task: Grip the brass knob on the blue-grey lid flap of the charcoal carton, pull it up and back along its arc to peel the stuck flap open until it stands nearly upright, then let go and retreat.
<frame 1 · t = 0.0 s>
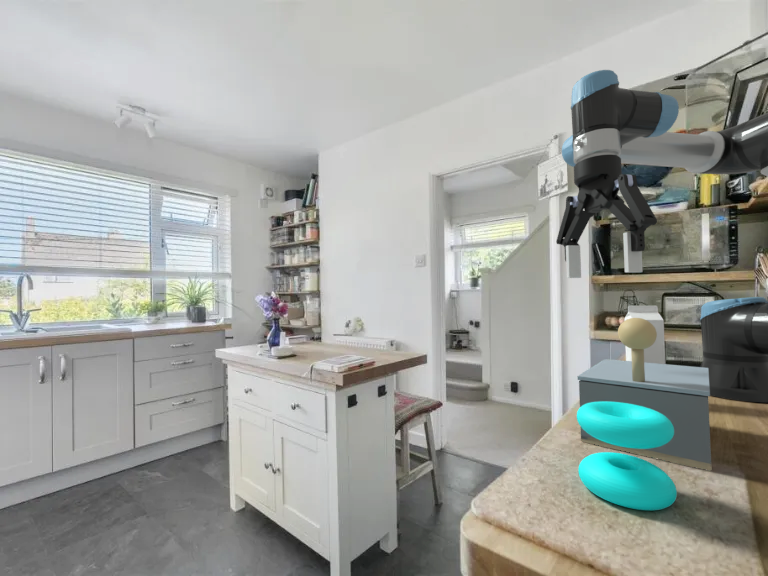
hand: (600, 275, 65), 28 cm above the countertop, fingers open, 13 cm apart
donuts: (624, 493, 44), on the countertop
flap: (644, 345, 62), point 15 cm above the countertop, hinge at 0.0°
carton: (648, 434, 62), on the countertop
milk: (646, 401, 82), on the countertop
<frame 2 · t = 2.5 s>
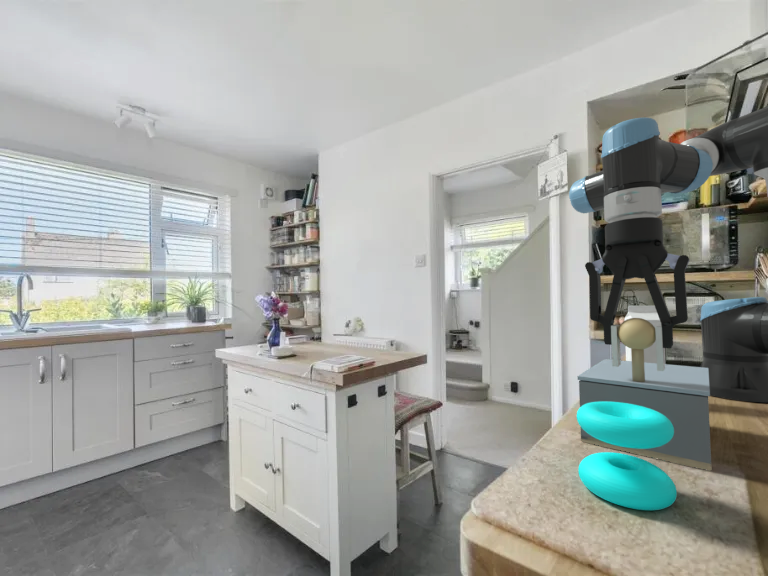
hand: (638, 367, 56), 13 cm above the countertop, fingers closed on flap, 5 cm apart
flap: (644, 345, 62), point 15 cm above the countertop, hinge at 0.0°, touching gripper
everything else where it was.
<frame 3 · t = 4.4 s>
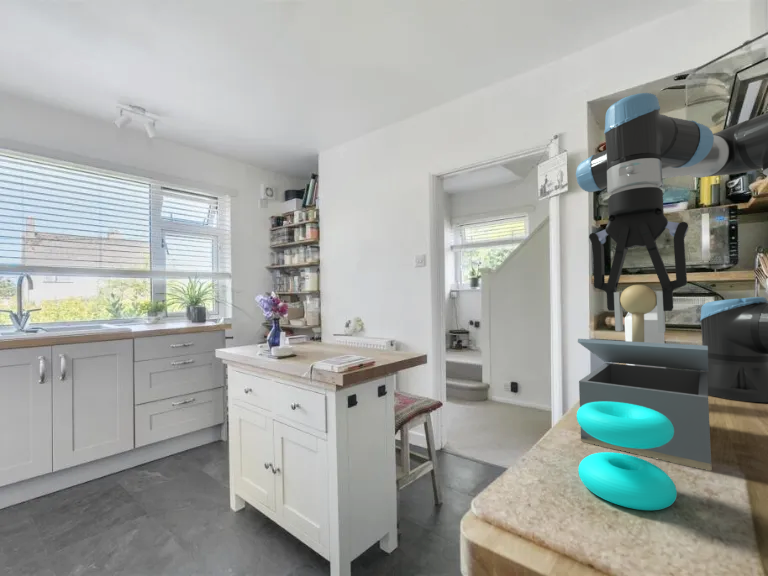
hand: (639, 330, 58), 18 cm above the countertop, fingers closed on flap, 5 cm apart
flap: (645, 327, 64), point 18 cm above the countertop, hinge at 16.5°, touching gripper
everything else where it was.
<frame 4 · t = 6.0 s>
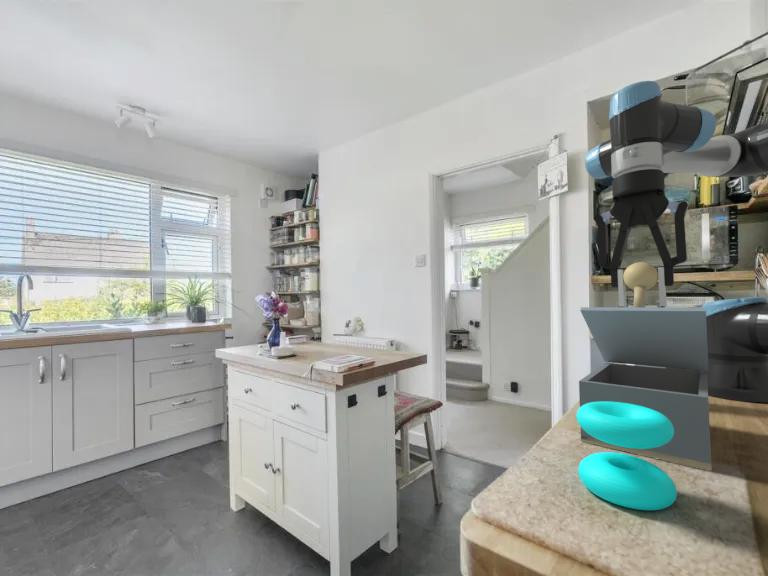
hand: (642, 305, 62), 22 cm above the countertop, fingers closed on flap, 5 cm apart
flap: (646, 315, 66), point 21 cm above the countertop, hinge at 31.8°, touching gripper
everything else where it was.
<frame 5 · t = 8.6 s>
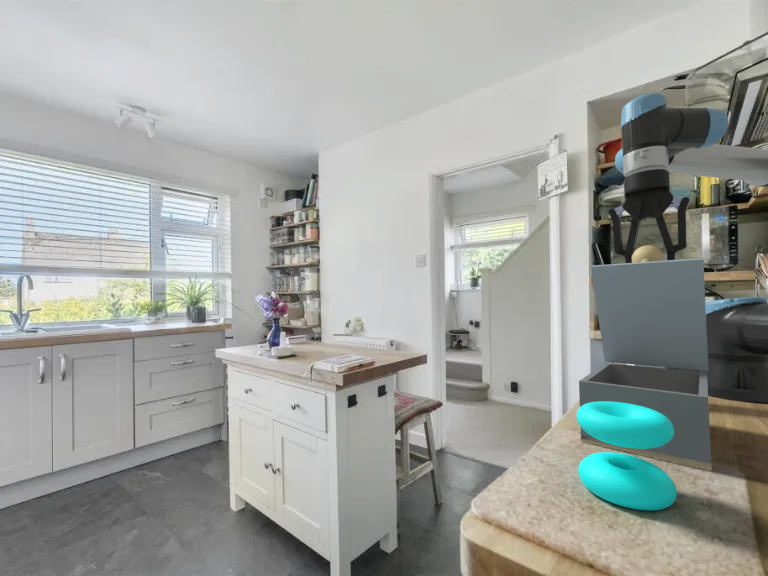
hand: (650, 286, 72), 26 cm above the countertop, fingers open, 4 cm apart
flap: (649, 303, 71), point 23 cm above the countertop, hinge at 64.5°
everything else where it was.
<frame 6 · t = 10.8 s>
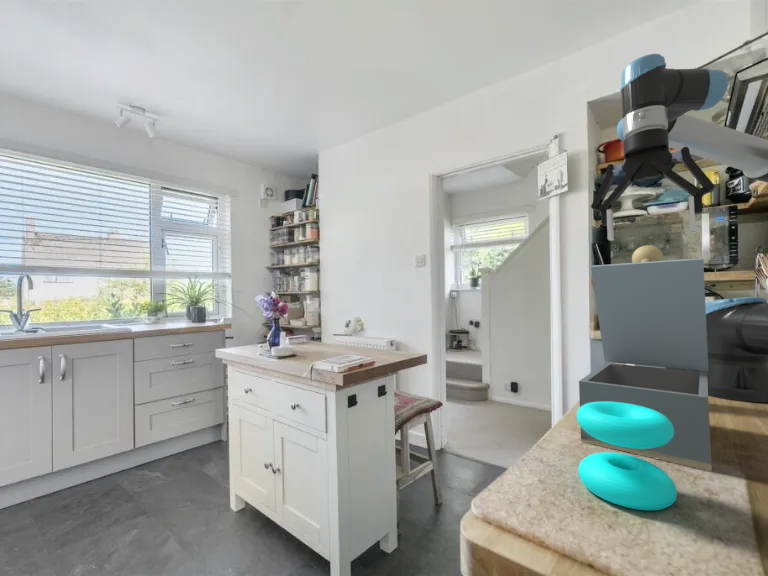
hand: (649, 236, 73), 37 cm above the countertop, fingers open, 13 cm apart
nothing on the countertop moved.
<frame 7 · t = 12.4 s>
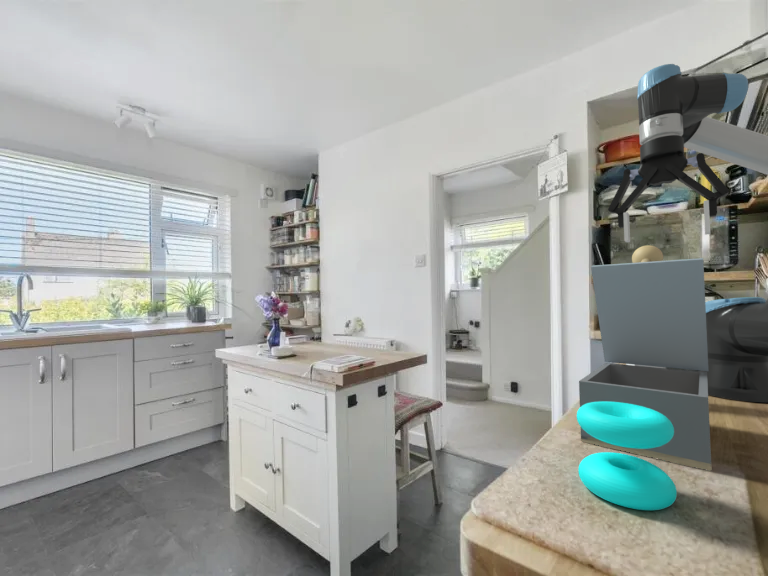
hand: (665, 237, 76), 37 cm above the countertop, fingers open, 13 cm apart
nothing on the countertop moved.
at the end: flap at +64° (first picture: +0°); the gripper is holding nothing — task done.
